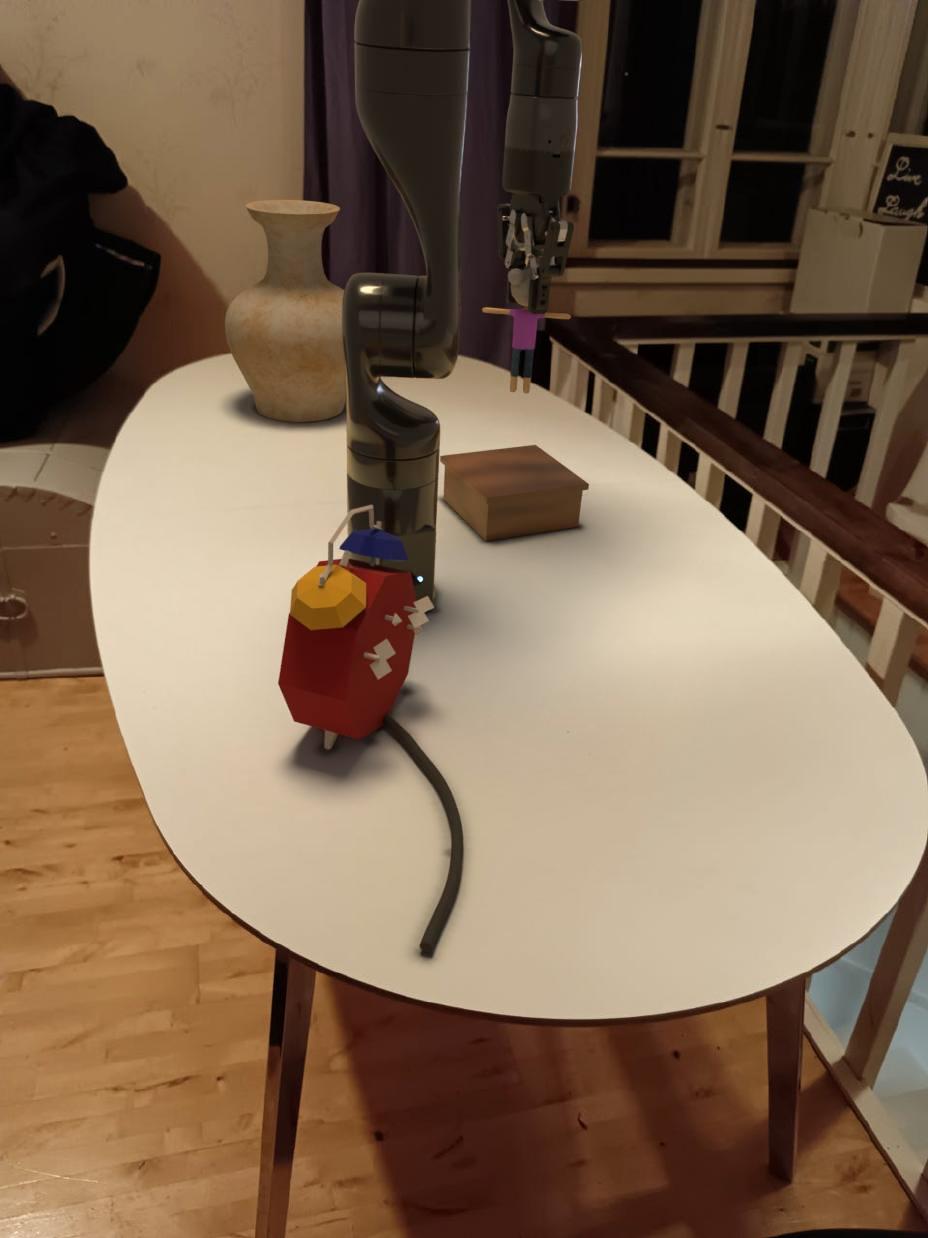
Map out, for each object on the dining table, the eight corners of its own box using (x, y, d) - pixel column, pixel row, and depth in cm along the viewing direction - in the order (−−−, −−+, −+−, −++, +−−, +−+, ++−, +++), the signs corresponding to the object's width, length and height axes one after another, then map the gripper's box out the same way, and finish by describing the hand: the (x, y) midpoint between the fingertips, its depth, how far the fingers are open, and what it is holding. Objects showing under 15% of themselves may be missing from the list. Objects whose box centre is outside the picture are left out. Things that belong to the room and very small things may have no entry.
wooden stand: (583, 527, 120) (589, 483, 117) (483, 543, 115) (487, 497, 112) (531, 485, 131) (535, 444, 128) (438, 498, 126) (439, 455, 123)
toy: (562, 391, 118) (576, 264, 110) (561, 405, 113) (576, 273, 105) (478, 384, 118) (486, 257, 111) (474, 397, 114) (482, 266, 106)
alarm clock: (357, 665, 91) (355, 469, 81) (441, 687, 89) (451, 488, 79) (280, 756, 79) (267, 539, 69) (375, 784, 77) (376, 564, 67)
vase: (214, 425, 145) (195, 212, 129) (250, 382, 164) (238, 191, 148) (357, 435, 144) (355, 222, 129) (377, 390, 163) (378, 200, 148)
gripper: (479, 137, 106) (470, 295, 115) (541, 150, 95) (526, 324, 104) (538, 138, 109) (525, 292, 118) (605, 151, 98) (585, 320, 106)
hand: (526, 306), depth 110 cm, fingers closed on toy, 5 cm apart
